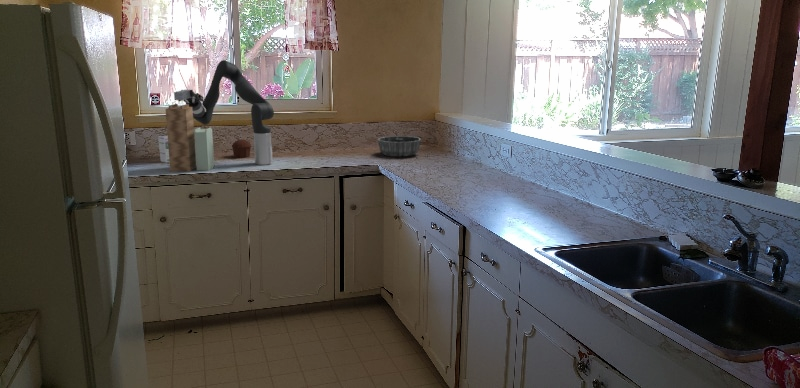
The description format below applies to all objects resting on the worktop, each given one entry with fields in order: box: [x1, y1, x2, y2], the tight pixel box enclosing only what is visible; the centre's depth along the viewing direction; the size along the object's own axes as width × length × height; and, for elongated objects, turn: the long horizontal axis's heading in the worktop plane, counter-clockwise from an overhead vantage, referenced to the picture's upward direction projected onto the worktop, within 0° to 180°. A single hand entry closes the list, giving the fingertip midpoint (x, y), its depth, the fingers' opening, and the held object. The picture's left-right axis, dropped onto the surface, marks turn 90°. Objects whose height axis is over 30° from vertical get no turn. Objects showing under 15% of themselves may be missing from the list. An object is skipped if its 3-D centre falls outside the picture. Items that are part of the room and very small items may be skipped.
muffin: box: [231, 138, 252, 159], centre depth 355 cm, size 12×11×10 cm
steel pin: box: [173, 89, 194, 101], centre depth 319 cm, size 4×20×4 cm, turn 4°
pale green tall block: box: [194, 127, 215, 171], centre depth 318 cm, size 6×12×21 cm, turn 3°
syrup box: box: [157, 134, 170, 163], centre depth 337 cm, size 6×6×14 cm
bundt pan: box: [376, 135, 422, 158], centre depth 368 cm, size 26×26×10 cm
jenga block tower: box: [165, 103, 197, 172], centre depth 314 cm, size 10×12×34 cm
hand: (186, 91), depth 323 cm, fingers closed on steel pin, 4 cm apart
